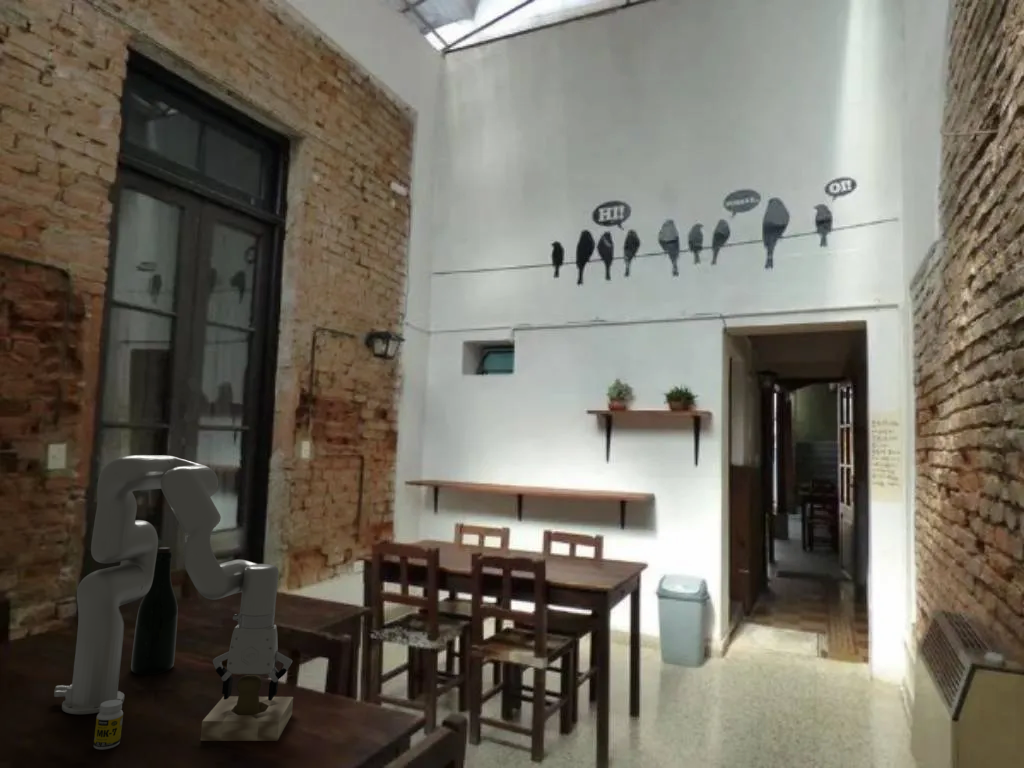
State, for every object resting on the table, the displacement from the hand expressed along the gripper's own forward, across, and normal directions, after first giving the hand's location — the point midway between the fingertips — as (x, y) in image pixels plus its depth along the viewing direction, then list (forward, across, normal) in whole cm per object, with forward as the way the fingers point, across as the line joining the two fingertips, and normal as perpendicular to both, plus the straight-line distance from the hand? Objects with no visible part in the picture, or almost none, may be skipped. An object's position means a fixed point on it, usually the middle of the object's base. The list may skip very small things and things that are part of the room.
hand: (249, 697), depth 149 cm
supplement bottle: (+7, -26, -9) cm, 28 cm away
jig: (+6, 0, 0) cm, 6 cm away
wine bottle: (+7, -36, +37) cm, 52 cm away
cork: (+6, 0, 0) cm, 7 cm away
